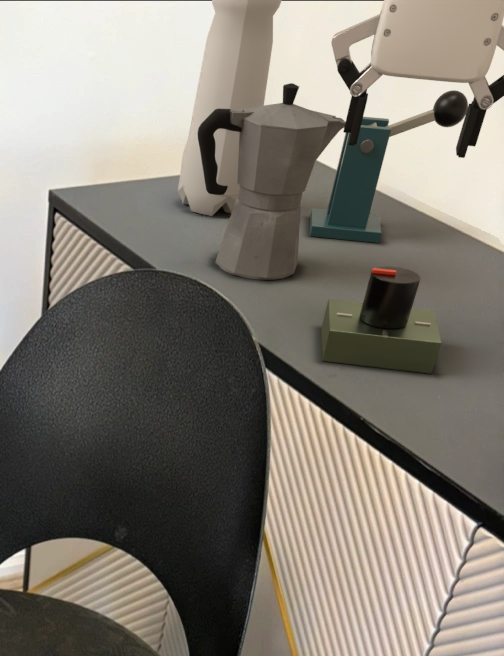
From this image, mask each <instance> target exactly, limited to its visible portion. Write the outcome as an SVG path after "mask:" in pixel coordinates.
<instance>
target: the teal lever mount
mask: <svg viewBox="0 0 504 656" xmlns="http://www.w3.org/2000/svg"><path fill="white" fill-rule="evenodd" d="M375 122H376V124H377V126H367V125H369V124H372V123H375ZM389 123H390V119H389V118H383V117H371V116H363V119H362V123H361V128H360V132H359V136H358V140H357V144H354V146H350V145H348V144H349V139H350V134H351V133H344V137H343V142H342V146H341V150H340V154H339V157H338V158H339V159H338V163H337V169H336V171H335V176H334V181H333V184H332V188H331V194H330V197H329V201H328V206H327V209H326V208H315V207H314V208H313V207H312V208H311V210H310V215H309V236H310V237H315V238H316V237H317V238H325V239H333V240H334V239H336V240H345V241H355V242H362V243H363V242H364V243H374V244H380V242H381V237H382V233H383V232H382V227H381V221H380V220H381V219H380V215H379V214H377V213H376V214H374V213H371V210H372V205H373V202H374V197H375V194H376V190H377V186H378V183H379V179H380V174H381V170H382V167H383V163H384V159H385V155H386V152H387V148H388V144H389V139H390V137H389V136H390V132H391V128H390V127H386V126H389V125H390V124H389Z"/></svg>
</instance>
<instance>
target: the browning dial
mask: <svg viewBox="0 0 504 656" xmlns="http://www.w3.org/2000/svg"><path fill="white" fill-rule="evenodd" d="M420 282H421V276H420V274H419V273H417V272H415V271H413V270H411V269H408V268H405V267H401V266H389V265H388V266H387V265H385V266H377V267H372V269H371V271H370V275H369V279H368V282H367V285H366V286H367V287H366V290H365V294H364V298H363V301H362V303H363V305H362V309H361V312H360V319H361V320H362V321H364V322H365V323H367V324H369V325H372V326H376V327H380V328H390V329H392V328H401V327H404V326H405V325H406V324H407V323H408V319H409V316H410V313H411V309H412V308H413V307H414V302H415V299H416V296H417V293H418V289H419V286H420Z"/></svg>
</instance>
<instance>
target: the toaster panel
mask: <svg viewBox="0 0 504 656" xmlns="http://www.w3.org/2000/svg"><path fill="white" fill-rule="evenodd" d="M362 305H363V302H359V301H348V300H340V299H331V298H329V299H328V300H327V304H326V307H325V311H324V316H323V320H322V324H321V328H320V329H321V335H320V336H321V358H322V359H321V361H322V362H326V363H327V362H328V363H336V364H343V365H344V364H345V365H353V366H354V365H355V366H363V367H370V368H380V369H388V370H396V371H404V372H411V373H412V372H413V373H419V374H420V373H421V374H428V375H429V374H430V375H431V374H433V371H434V367H435V364H436V363H437V362H436V361H437V359H438V356H439V352H440V349H441V346H442V339H441V334H440V331H439V327H438V323H437V316H436V314H435V311H434V310H431V309H423V308H422V309H421V308H415V307H412V309H411V313H410V316H409V319H408V323H407V324H406V325H405V326H404V327H401V328H392V329H390V328H380V327H376V326H372V325H369V324H367V323H365V322H364V321H362V320H361V319H360V312H361V309H362Z"/></svg>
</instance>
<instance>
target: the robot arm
mask: <svg viewBox="0 0 504 656" xmlns="http://www.w3.org/2000/svg"><path fill="white" fill-rule="evenodd" d="M503 23H504V0H383V2H382V6H381V9H380V13H379V14H377V15H374V16H372V17H370V18H368V19H365V20H363V21H361V22H359V23H356V24H355V25H351V26H349V27H347V28H345V29H343V30H340V31H338V32H336V33H334V34H333V36H332V37H331V41H330V42H331V48H332V52H333V56H334V60H335V64H336V68H337V69H336V70H337V72H338V74H339V76H340V77H341V79H342V81H343V82H344V84H345V85H346V87H347V89H348V91H349V94H350V95H351V97H350V101H349V106H348V110H347V114H346V119H345V122H346V123H345V127H344V128H343V133H344V134H345V133H351V134H350V139H349V144H348V145H350V146H354V144H357V140H358V136H359V132H360V128H361V123H362V119H363V117H364V116H365V115H364V114H365V110H366V106H367V103H368V97H369V93H368V92H367V91H368V89H369V88H370V87H371V86H372V85H373V84H374V83H376V82H377V81H378V80H379V79H380V78H382V76H388V77H395V78H405V79H414V80H426V81H435V82H445V83H446V82H448V83H459V84H468V85H469V88H470V90H471V92H472V94H473V100H471V103H468V109H467V112H466V115H465V117H464V118H463V122H462V126H461V129H460V132H459V136H458V140H457V143H456V146H455V155H456V156H457V157H458V158H462V159H465V158H466V155H467V152H468V148H469V147H476V145H477V143H478V140H479V136H480V133H481V130H482V127H483V123H484V121H485V117H486V113H487V110H488V109H490V108H491V107H492V106H493V105H494V104H496V103H497V102H498V101H499V100H500V99H502V98H504V74H503V75H501V76H500V77H499V78H497V79H496V80H494V81H493V82H492V83H490V84H489V82H488V79H487V78H486V75H487V74H488V72H489V70H490V68H491V65H492V61H493V59H494V55H495V53H496V50H497V47H498V48H499V49H501V50H502V51H504V25H503ZM372 36H373V40H372V44H371V50H370V51H371V52H370V62H369V63H367V65H366V66H365V67H364V68H362V69H361V71H360V70H359V69H358V67H357V66H356V64H355V63H354V61H353V59H352V57H351V56H352V55H351V51H350V47H351V46H352V45H354V44H356V43H358V42H361V41H363V40H365V39H368V38H370V37H372Z"/></svg>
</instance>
